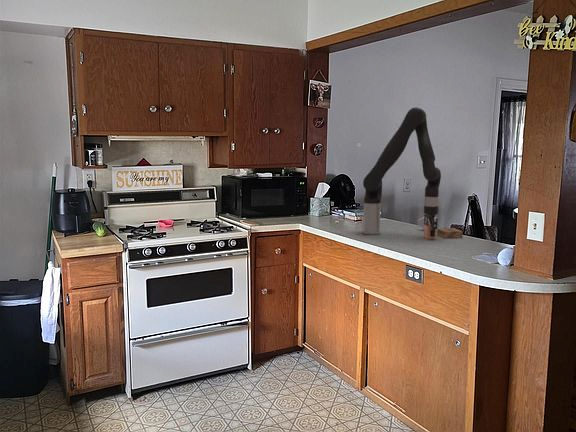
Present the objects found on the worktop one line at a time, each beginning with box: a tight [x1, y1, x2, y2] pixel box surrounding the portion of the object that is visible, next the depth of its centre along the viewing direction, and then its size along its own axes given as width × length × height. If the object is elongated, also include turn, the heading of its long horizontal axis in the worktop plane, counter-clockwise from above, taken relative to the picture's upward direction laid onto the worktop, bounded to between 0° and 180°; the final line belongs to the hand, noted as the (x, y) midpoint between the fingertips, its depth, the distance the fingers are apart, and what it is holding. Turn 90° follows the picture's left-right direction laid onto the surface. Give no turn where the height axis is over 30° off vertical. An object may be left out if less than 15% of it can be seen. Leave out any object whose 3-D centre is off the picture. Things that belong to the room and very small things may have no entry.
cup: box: [417, 216, 438, 230], centre depth 310 cm, size 11×8×8 cm
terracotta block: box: [423, 224, 437, 240], centre depth 288 cm, size 5×5×7 cm
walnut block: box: [436, 227, 464, 239], centre depth 292 cm, size 10×10×4 cm
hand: (430, 235), depth 288 cm, fingers open, 7 cm apart
